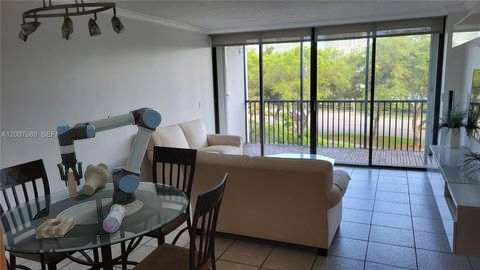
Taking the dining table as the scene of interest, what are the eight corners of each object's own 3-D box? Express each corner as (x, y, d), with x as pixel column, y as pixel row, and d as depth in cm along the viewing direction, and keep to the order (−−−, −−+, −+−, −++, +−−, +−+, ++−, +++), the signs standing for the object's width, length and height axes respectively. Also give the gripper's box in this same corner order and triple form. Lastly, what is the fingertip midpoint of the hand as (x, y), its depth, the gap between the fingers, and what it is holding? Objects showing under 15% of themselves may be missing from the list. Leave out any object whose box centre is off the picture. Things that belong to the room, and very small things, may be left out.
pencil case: (111, 218, 200) (109, 203, 198) (126, 217, 201) (124, 201, 199) (103, 235, 179) (101, 218, 178) (120, 233, 181) (118, 216, 179)
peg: (79, 194, 200) (76, 171, 198) (76, 196, 196) (73, 173, 194) (72, 194, 200) (69, 171, 198) (69, 197, 196) (66, 173, 194)
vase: (98, 180, 231) (112, 160, 256) (65, 177, 230) (83, 157, 255) (99, 206, 240) (113, 184, 265) (68, 203, 239) (84, 182, 264)
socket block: (74, 225, 193) (73, 217, 192) (63, 236, 179) (62, 228, 178) (49, 226, 192) (48, 219, 191) (36, 238, 178) (34, 230, 178)
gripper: (85, 149, 197) (91, 188, 202) (55, 151, 197) (62, 190, 201) (80, 152, 190) (86, 192, 194) (49, 154, 189) (56, 194, 194)
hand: (74, 191), depth 198 cm, fingers closed on peg, 4 cm apart
